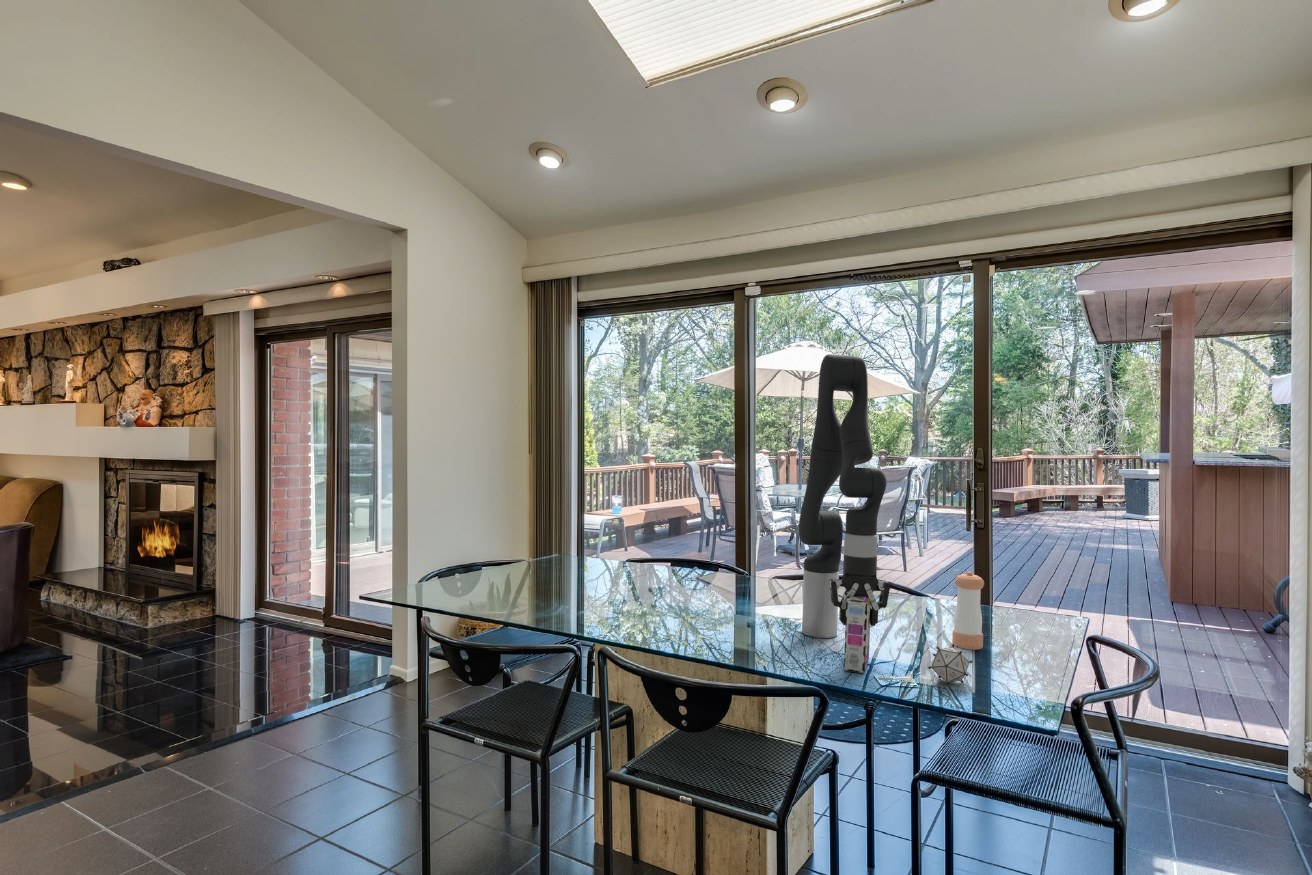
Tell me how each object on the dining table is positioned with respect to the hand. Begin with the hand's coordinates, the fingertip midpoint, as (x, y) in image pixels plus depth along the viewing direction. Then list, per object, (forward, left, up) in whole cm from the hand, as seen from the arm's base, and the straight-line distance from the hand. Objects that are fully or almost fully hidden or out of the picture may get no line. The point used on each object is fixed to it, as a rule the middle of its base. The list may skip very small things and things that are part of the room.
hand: (858, 624), depth 169 cm
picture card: (+10, +6, -10) cm, 15 cm away
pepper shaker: (-20, +33, -10) cm, 40 cm away
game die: (+9, +18, -10) cm, 23 cm away
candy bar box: (0, 0, -10) cm, 10 cm away
